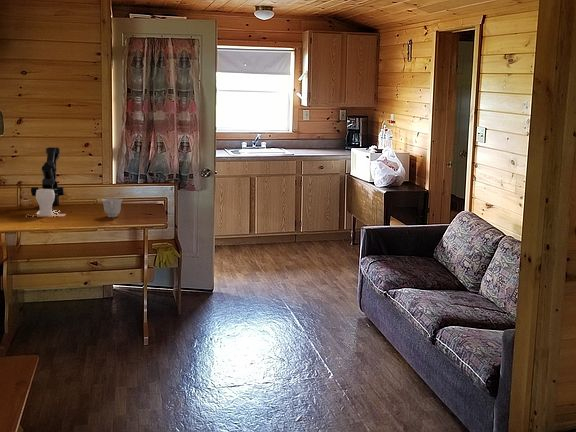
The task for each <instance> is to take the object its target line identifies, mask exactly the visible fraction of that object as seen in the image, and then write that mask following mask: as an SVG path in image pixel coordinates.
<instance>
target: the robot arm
mask: <svg viewBox="0 0 576 432" xmlns="http://www.w3.org/2000/svg"><path fill="white" fill-rule="evenodd" d="M45 154H46V155H47V156H46V161H45V162H44V163H43V165H42V166H41V173H42V176H43V179H41V188H40V189H53V190H54V193H55V198H54V202H53V204H52V207H54V206H55V207H57V206H61V204H60V200H59V199H60V197H61V196H65V189H64V187H63V186H59V183H58V181H57V171H58V169H57V168H58V167H57V161H58V160H59V158H60V155H61V148H59V147H58V146H57V147H56V146H53V147H52V146H49V147H46V148H45ZM37 190H39V187H38V186H32V187H30V192H31V196H32V197H36V191H37Z"/></svg>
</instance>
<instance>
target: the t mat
mask: <svg viewBox="0 0 576 432" xmlns="http://www.w3.org/2000/svg"><path fill="white" fill-rule="evenodd" d="M52 210H53V211H52V212H54V213H57V215H56V214H54V213H53V215H51V216H40V215H39V213H40V210H38V211H37V212H36V213H35V214H37V217H36V218H49V217H52V218H54V217H56V216H58V217H59V218H61V217H65V216H66V215H67V214H66V213H61V211H60V210H59V209H55V210H54V209H52ZM57 210H59V211H58V212H59V213H58V212H55V211H57ZM53 216H54V217H53ZM25 218H28V217H27V215H26V216H25ZM31 218H35V217H34V215H33V216H32V217H31Z"/></svg>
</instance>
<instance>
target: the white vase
mask: <svg viewBox="0 0 576 432" xmlns="http://www.w3.org/2000/svg"><path fill="white" fill-rule="evenodd" d="M38 189H39V188H38ZM54 198H55V193H54V190H53V189H41V188H40V189H39V190H37V191H36V196H35V199H36V202H37V203H38V207H39V211H40V213H39V215H40V216H51V215H53V212H52V210H53V206H52V204H53V202H54Z"/></svg>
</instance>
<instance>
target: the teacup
mask: <svg viewBox="0 0 576 432" xmlns="http://www.w3.org/2000/svg"><path fill="white" fill-rule="evenodd" d="M101 201H102V203H103V211H104V213H105V214H106V215H107V217H108V218H116V217H118V215H119V214H120V212H121V207H122V202H123V198H117V197H116V198H114V197H111V198H103V199H101Z"/></svg>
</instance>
